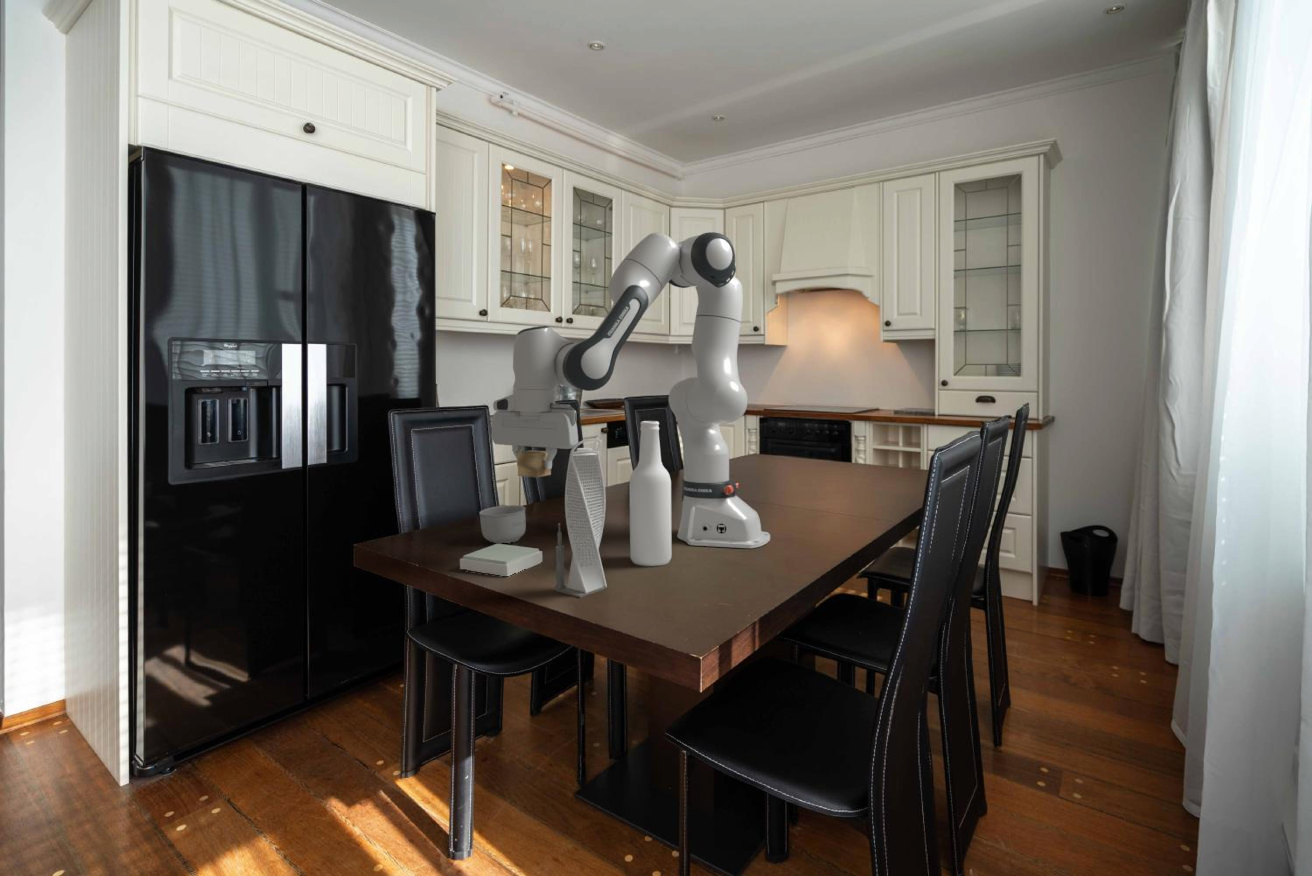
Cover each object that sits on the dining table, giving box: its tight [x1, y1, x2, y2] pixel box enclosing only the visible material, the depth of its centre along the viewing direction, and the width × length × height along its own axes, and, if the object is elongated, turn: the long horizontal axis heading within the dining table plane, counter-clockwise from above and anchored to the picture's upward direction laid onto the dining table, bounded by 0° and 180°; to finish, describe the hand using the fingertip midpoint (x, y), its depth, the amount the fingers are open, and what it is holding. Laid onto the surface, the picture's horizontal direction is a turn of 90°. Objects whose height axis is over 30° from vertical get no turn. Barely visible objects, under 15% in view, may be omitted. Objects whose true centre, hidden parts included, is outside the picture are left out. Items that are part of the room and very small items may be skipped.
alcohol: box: [629, 420, 673, 567], centre depth 145 cm, size 9×9×30 cm
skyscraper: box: [553, 438, 608, 599], centre depth 127 cm, size 8×8×28 cm
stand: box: [459, 544, 543, 577], centre depth 143 cm, size 12×12×3 cm
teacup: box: [478, 504, 527, 544], centre depth 166 cm, size 14×11×8 cm
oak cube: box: [517, 449, 552, 478], centre depth 146 cm, size 5×5×5 cm
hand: (534, 467), depth 146 cm, fingers closed on oak cube, 5 cm apart
